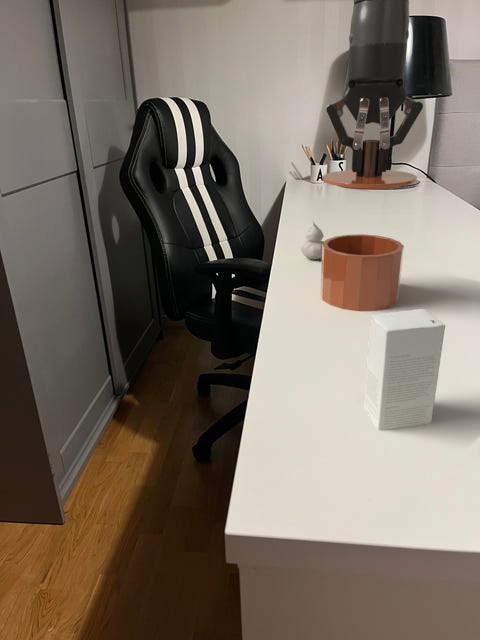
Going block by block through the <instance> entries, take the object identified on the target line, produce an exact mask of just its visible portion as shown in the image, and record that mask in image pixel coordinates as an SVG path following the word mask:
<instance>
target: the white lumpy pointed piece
mask: <svg viewBox="0 0 480 640" xmlns="http://www.w3.org/2000/svg"><path fill="white" fill-rule="evenodd" d="M304 236H305V238H306V241H305V242H304V243H302V244H301V246H300V249H301V250H300V251H301V254H302V255H303V256H304V257H305V258H306V259H309V260H319V259H322V244H323V243H324V241H325V240H323V239H324V237H325V236H324V233H323V231H322V229H321V228H319V226H317V224H316V223H315V221H312V226H311V227H309V229H308V232H306V233H305V234H304Z"/></svg>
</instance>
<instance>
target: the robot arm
mask: <svg viewBox="0 0 480 640" xmlns="http://www.w3.org/2000/svg"><path fill="white" fill-rule="evenodd" d="M409 27H410V0H353V6H352V15H351V20H350V27H349V30H350V31H349V33H350V34H349V36H348V42H349V49H348V50H349V51H348V65H347V66H348V67H347V87H346V90H345V91H344V93H343V96H342V98H341V99H339V100H337V101H335V102H333V103H330V104H328V105H327V106H326V109H325V110H326V113H327V115H328V117H329V120H330V122H331V124H332V127H333V129H334V131H335V133H336V135H337V138H338V140H339V143H340V144H341V146H346V147H349V148H351V150H352V157H351V170H352V171H353V172H356V176H361V167H362V152H363V150H362V145H363V139H364V133H365V132H364V131H365V128H366V125H369V124H372V123H374V124H377V125H378V130H379V141H380V145H379V156H378V168H377V176H382V172H386V170H388V168H389V167H388V165H389V155H390V154H389V153H390V150H391V148H392V147H396V146H397V145H401V144H403V142H404V141H405V138H406V137H407V136H408V133H409V132H410V130H411V129H412V127H413V125H414V124H415V122H416V120H417V119H418V117H419V115H420V114H421V112H422V110H423V108H424V104H423V103H422V102H421V101H418V100H417V101H416V100H414V99H413V98H411V97H409V96H407V91H406V89H405V83H404V82H405V72H406V71H405V70H406V61H407V51H408V40H409V38H410V31H409V30H410V29H409ZM402 105H404V106H403V111H402V112H403V114H404V118H403V120H402V121H401V123H400V125H399V127H398V128H397V130H396V132H395V133H394V134H393V135H391V136H390V120H391V119H392V118H393V116H394V115H395V114H396V113H397V112H398V110H399V109H400V107H402ZM344 107H346V108H347V110H348V111H349V113H350V114H351V116H352V117H353V119H354V121H356V123H355V127H354V133H353V134H354V135H353V137H352V136H350V135H348V133H347V131H346V128H345V126H344V123H343V122H342V119H341V117H343V115H344Z"/></svg>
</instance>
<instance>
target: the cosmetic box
mask: <svg viewBox="0 0 480 640" xmlns="http://www.w3.org/2000/svg"><path fill="white" fill-rule="evenodd" d="M445 330H446V324H445V323H443V322H442V321H441V320H440V319H438V318H437V317H436V316H435V315H433V314H432V313H430V312H429V311H428V310H427V309H425V308H418V309H411V310H410V309H409V310H401V311H391V312H383V313H373V314H370V316H369V330H368V341H367V343H368V344H367V358H366V359H367V361H366V374H365V390H364V401H363V402H364V403H363V410H364V412H365V413H366V414H367V416H368V417H369V419H370V420H371V422H372V423H373V425H374V426H375V428H376V429H377V430H378V431H386V430H394V429H401V428H408V427H409V428H410V427H416V426H422V425H430V424H432V421H433V414H434V413H433V412H434V406H435V400H436V393H437V386H438V385H437V384H438V379H439V372H440V365H441V358H442V351H443V343H444V338H445Z"/></svg>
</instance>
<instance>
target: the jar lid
mask: <svg viewBox="0 0 480 640" xmlns="http://www.w3.org/2000/svg"><path fill="white" fill-rule="evenodd" d="M379 148H380V139H365V140H362V147H361V149H362V150H363V152H362V167H361V176H356V172H353V171H352V169H347V170H339V171H331V172H328V173H325V174H323V175H322V177H321V178H322V182H323V183H325V184H328V185H331V186H336V187H339V188H343V189H349V190H359V191H372V190H373V191H375V190H376V191H378V190H381V191H382V190H390V189H396V188H399V187H404V186H408V185H412V184H414V183H416V182H417V181H418V179H417V178H418V177H417V175H415V174H413V173H410V172H406V171H401V170H391V169H387V170H386V172H382V176H377V168H378V156H379Z"/></svg>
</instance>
